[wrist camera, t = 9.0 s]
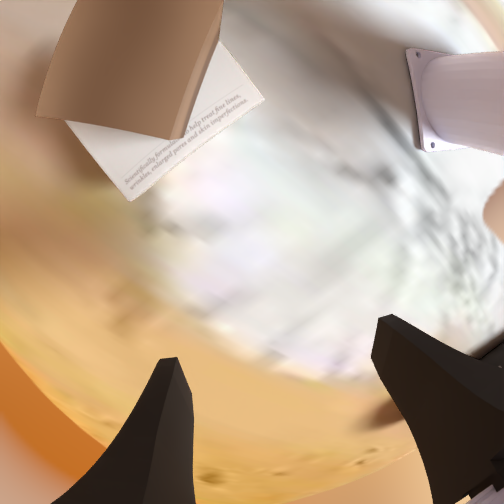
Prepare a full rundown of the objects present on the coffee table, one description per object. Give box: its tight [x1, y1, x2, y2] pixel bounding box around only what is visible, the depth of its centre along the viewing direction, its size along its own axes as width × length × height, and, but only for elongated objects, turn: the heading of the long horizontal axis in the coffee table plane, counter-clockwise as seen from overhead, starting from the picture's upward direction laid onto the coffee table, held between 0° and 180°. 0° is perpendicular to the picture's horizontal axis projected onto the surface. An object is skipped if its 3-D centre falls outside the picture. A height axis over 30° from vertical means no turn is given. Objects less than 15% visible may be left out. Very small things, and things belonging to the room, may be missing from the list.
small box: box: [64, 40, 264, 202], centre depth 12 cm, size 8×8×5 cm
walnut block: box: [35, 0, 224, 140], centre depth 8 cm, size 5×5×4 cm
